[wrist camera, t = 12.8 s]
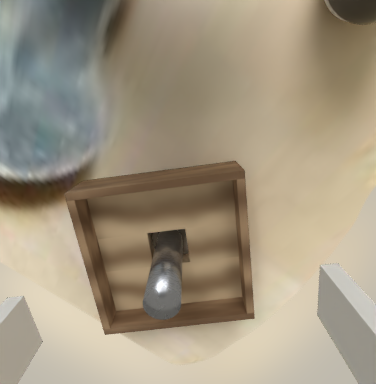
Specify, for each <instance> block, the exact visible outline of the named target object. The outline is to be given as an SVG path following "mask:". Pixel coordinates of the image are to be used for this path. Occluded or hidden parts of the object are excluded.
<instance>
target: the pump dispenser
mask: <svg viewBox="0 0 376 384" xmlns="http://www.w3.org/2000/svg"><path fill="white" fill-rule="evenodd" d="M324 1H325V4H326V6H327V7H328V9H329V10H330V11H331V13H332V14H333V15H335V16H336V17H337V18H339V19H341V20H343V21H346V22H350V23H353V24H359V25H367V24H373V23H376V0H324Z"/></svg>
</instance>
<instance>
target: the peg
mask: <svg viewBox="0 0 376 384" xmlns="http://www.w3.org/2000/svg"><path fill="white" fill-rule="evenodd" d="M182 259H183V237H182V235H181V233H180V232H179V231H178V230H170V231H162V232H160V233H159V235H158V237H157V242H156V246H155V250H154V255H153V259H152V263H151V268H150V272H149V276H148V281H147V285H146V290H145V294H144V298H143V308H144V310H145V312H146V313H147V314H148V315H149V316H151V317H152V318H155V319H159V320H166V319H170V318H172V317H174V316H175V315H177V314H178V312H179V311H180V308H181V293H182Z"/></svg>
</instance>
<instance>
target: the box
mask: <svg viewBox="0 0 376 384" xmlns="http://www.w3.org/2000/svg"><path fill="white" fill-rule="evenodd" d="M64 195H65V198H66V202H67V205H68V209H69V212H70V216H71V219H72V222H73V226H74V229H75V233H76V236H77V240H78V243H79V247H80V250H81V254H82V257H83V261H84V264H85V267H86V271H87V274H88V278H89V281H90V285H91V288H92V292H93V295H94V299H95V302H96V306H97V309H98V312H99V316H100V319H101V323H102V326H103V330H104V333H105V335H106V334H116V333H125V332H135V331H144V330H153V329H162V328H171V327H181V326H190V325H199V324H208V323H217V322H227V321H236V320H245V319H254V304H253V289H252V274H251V259H250V244H249V229H248V215H247V200H246V185H245V170H244V169H243V168H242V167H241V166H240V165H239V164H238V163H237V162H236V161H232V162H224V163H216V164H209V165H201V166H193V167H186V168H178V169H170V170H162V171H155V172H147V173H139V174H132V175H124V176H116V177H109V178H101V179H93V180H86V181H82V182H80V183H79V184H78V185H76V186H75V187H73V188H72V189H70V190H69V191H67V192H66V193H64ZM179 229H185V231H186V237H187V244H188V251H189V253H188V254H183V259H182V293H181V308H180V311H179V312H178V314H177V315H175V316H174V317H172V318H170V319H166V320H159V319H155V318H152V317H151V316H149V315H148V314H147V313H146V312H145V310H144V308H143V298H144V294H145V290H146V285H147V281H148V276H149V272H150V268H151V263H152V259H153V255H154V247H153V242H152V236H151V233H154V232H162V231H170V230H179Z"/></svg>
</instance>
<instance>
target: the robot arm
mask: <svg viewBox="0 0 376 384" xmlns="http://www.w3.org/2000/svg"><path fill="white" fill-rule="evenodd" d="M317 315H318V317H319V319H320V320H321V322H322V324H323V325H324V327H325V329H326V330H327V332H328V334H329V335H330V337H331V339H332V340H333V342H334V343H335V345H336V347H337V349H338V350H339V352H340V354H341V355H342V357H343V359H344V360H345V362H346V364H347V365H348V367H349V369H350V370H351V372H352V374H353V375H354V377H355V379H356V380H357V382H358V384H376V304H375V303H374V302H373V301H372V300H371V299H370V297H369V296H368V295H367V294H366V293H365V292H364V291H363V290H362V289H361V288H360V287H359V285H358V284H357V283H356V282H355V281H354V280H353V279H352V278H351V277H350V276H349V275H348V273H347V272H346V271H345V270H344V269H343V268H342V267H341V266H340V265H339V264H338V263H335V264H325V265H320V275H319V293H318V312H317ZM42 342H43V341H42V339H41V337H40V334H39V332H38V329H37V327H36V324H35V322H34V320H33V317H32V315H31V312H30V310H29V308H28V305H27V303H26V301H25V298H24V296H20V297H9V298H6V300H5V301H4V302H3V303H2V304H1V305H0V384H18V382H19V381H20V379H21V377H22V376H23V374H24V372H25V371H26V369H27V367H28V366H29V364H30V362H31V360H32V359H33V357H34V355H35V354H36V352H37V350H38V349H39V347H40V345H41V344H42Z"/></svg>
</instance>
